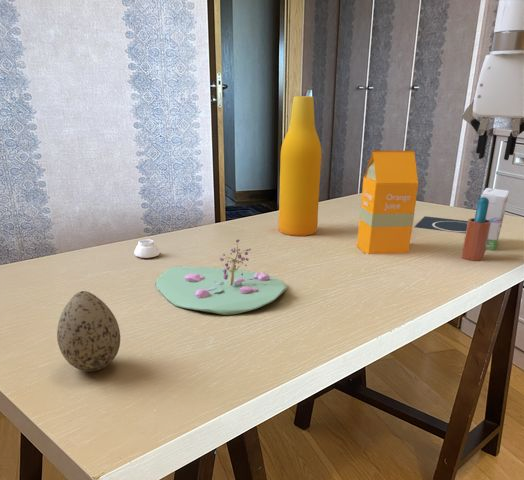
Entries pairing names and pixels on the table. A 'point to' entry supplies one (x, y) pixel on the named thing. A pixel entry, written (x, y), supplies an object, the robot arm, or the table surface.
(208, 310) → the plant
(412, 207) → the orange juice
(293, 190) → the beer bottle
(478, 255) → the pen cup
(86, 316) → the decorative egg
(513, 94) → the robot arm
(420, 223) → the drawing mat
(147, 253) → the white jar
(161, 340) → the table surface
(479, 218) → the marker
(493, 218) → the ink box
